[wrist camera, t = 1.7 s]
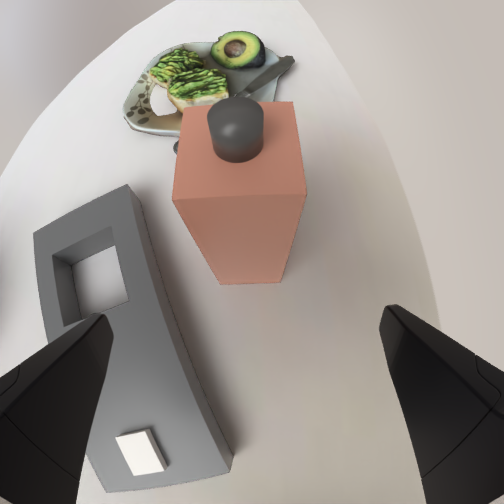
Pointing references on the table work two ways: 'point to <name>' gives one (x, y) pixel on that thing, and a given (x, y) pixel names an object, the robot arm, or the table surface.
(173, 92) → the salad plate
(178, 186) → the pink capped bottle
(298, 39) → the table surface
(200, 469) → the grey slotted holder
